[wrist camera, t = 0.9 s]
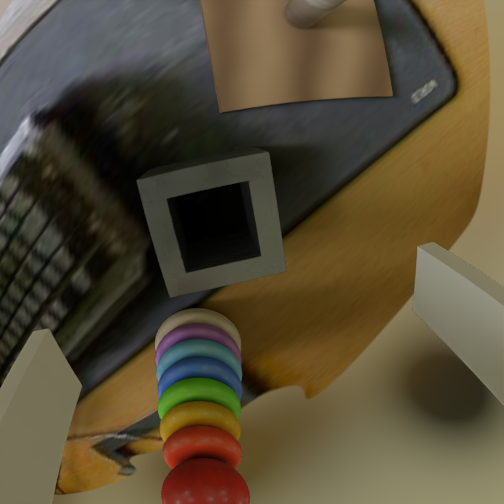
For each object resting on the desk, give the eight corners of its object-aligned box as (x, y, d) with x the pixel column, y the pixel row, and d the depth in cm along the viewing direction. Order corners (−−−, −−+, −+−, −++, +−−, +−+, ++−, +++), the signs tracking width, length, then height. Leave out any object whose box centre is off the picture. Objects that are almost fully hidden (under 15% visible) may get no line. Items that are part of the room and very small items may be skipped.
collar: (174, 264, 26) (170, 297, 21) (149, 169, 23) (136, 180, 18) (268, 243, 27) (286, 271, 22) (253, 146, 23) (268, 151, 18)
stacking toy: (249, 311, 29) (311, 503, 12) (229, 374, 31) (264, 545, 14) (161, 297, 27) (142, 505, 10) (152, 364, 29) (143, 544, 12)
